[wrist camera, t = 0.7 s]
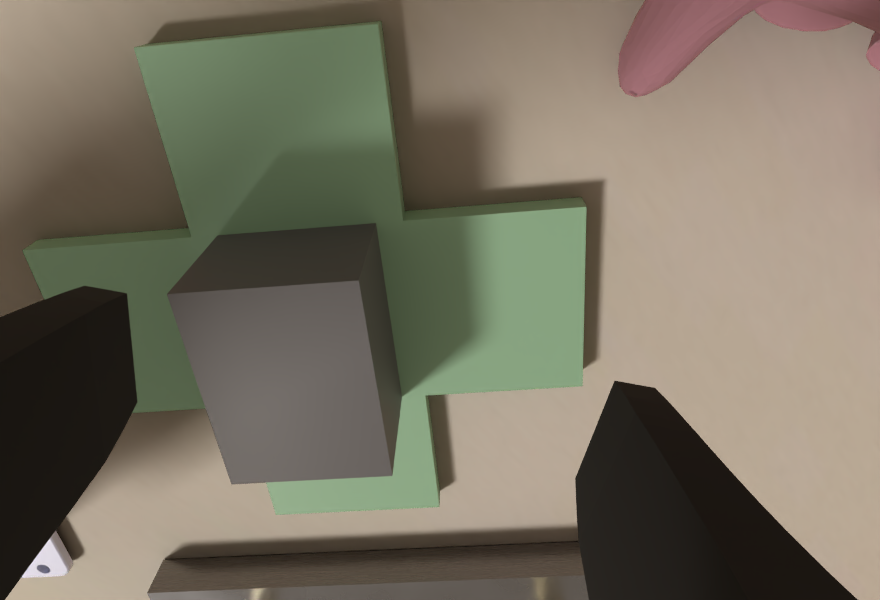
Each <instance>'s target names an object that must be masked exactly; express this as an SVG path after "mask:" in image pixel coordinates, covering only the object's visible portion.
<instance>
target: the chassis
mask: <svg viewBox="0 0 880 600" xmlns="http://www.w3.org/2000/svg"><path fill="white" fill-rule="evenodd" d="M147 594H148V596H149V598H150V600H589V598H588V592H587V586H586V581H585V575H584V570H583V564H582V558H581V552H580V546H579V542H561V543H538V544H515V545H492V546H470V547H447V548H424V549H402V550H379V551H356V552H333V553H311V554H288V555H265V556H243V557H220V558H197V559H174V560H163V562H162V564H161V566H160V568H159V570H158V572H157V574H156V576H155V578H154V580H153V582H152V584H151V586H150V589H149V591H148V593H147Z"/></svg>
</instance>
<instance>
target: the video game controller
mask: <svg viewBox="0 0 880 600" xmlns="http://www.w3.org/2000/svg"><path fill="white" fill-rule="evenodd" d="M753 10H755V12H756V13H757V14H758V15H760V16H761V17H762V18H763V19H765V20H766V21H768V22H771V23H773V24H776V25H778V26H781V27H784V28H789V29H794V30H800V31H827V30H831V29H836V28H839V27H842V26H845V25H847V24H850V23H851V22H855V23H858V24H860V25H862V26H865V27H867V28H869V29H871V30H874V31H875V33H874V35H873V36H872V39H871V42H870V45H869V48H868V51H867V54H866V57H867V59H868V61H869V63H870V64H871V65H872V66H873V67H875V68H876V69H878V70H879V71H880V0H645V1H644V3H643V5H642V6H641V8H640V10H639V11H638V13H637V15H636V17H635V19H634V21H633V24H632V26H631V28H630V30H629V32H628V34H627V36H626V39H625V41H624V43H623V45H622V48H621V51H620V54H619V66H618V75H619V82H620V87H621V88H622V89H623V91H624V92H625V93H626V94H628V95H631V96H634V97H638V96H643V95H647V94H649V93H651V92H653V91H655V90H657V89H659V88H660V87H662V86H664V85H666V84H668V83H669V82H671V81H672V80H673V79H674V78H675V77H676V76H677V75H678V74H679V73H680V72H681V71H682V70H683V69H684V68H685V67H687V66H688V65H689V64H690V63H691V62H692V61H693V60H694V59H695V58H696V57H697V56H698V55H699V54H700V53H701V52H702V51H703V50H704V49H705V48H706V47H707V46H708V45H709V44H711V43H712V42H713V41H714V40H715V39H717V38H718V37H719V36H720V35H721V34H723V33H724V32H725V31H726V30H727V29H729V28H730V27H731V26H732V25H733V24H735V23H736V22H737V21H738V20H739V19H741V18H742V17H743V16H744V15H746V14H748V13H749V12H751V11H753Z"/></svg>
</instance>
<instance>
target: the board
mask: <svg viewBox="0 0 880 600" xmlns="http://www.w3.org/2000/svg"><path fill="white" fill-rule="evenodd" d="M134 50H135V53H136V57H137V60H138V63H139V67H140V70H141V73H142V76H143V80H144V83H145V86H146V89H147V93H148V96H149V99H150V103H151V106H152V109H153V112H154V116H155V119H156V122H157V126H158V129H159V132H160V135H161V139H162V142H163V145H164V149H165V152H166V155H167V158H168V162H169V165H170V168H171V172H172V175H173V178H174V181H175V185H176V188H177V191H178V195H179V198H180V201H181V204H182V208H183V211H184V214H185V218H186V221H187V224H188V227H189V228H182V229H169V230H157V231H144V232H131V233H118V234H106V235H93V236H80V237H68V238H55V239H42V240H37V241H35V242H34V243H33V244H31V245H30V246H28V247H27V248H25V249H24V250H22V251H23V253H24V256H25V258H26V260H27V262H28V264H29V267H30V269H31V271H32V273H33V276H34V278H35V280H36V282H37V285H38V287H39V289H40V291H41V293H42V296H43V298H44V300H45V299H47V298H50V297H53V296H55V295H58V294H61V293H64V292H66V291H69V290H72V289H76V288H79V287H82V286H90V287H95V288H101V289H107V290H112V291H118V292H123V293H127V298H128V309H129V319H130V329H131V340H132V350H133V360H134V371H135V381H136V392H137V404H136V406H135V408H134V410H133V412H132V413H140V412H157V411H174V410H190V409H206V411H207V414H208V417H209V420H210V423H211V425H212V428H213V431H214V434H215V437H216V440H217V443H218V446H219V449H220V452H221V455H222V458H223V461H224V464H225V467H226V469H227V472H228V475H229V478H230V481H231V484H248V483H266V484H267V487H268V490H269V493H270V497H271V500H272V503H273V507H274V510H275V513H276V515H283V514H304V513H324V512H345V511H366V510H387V509H408V508H429V507H439V504H440V488H439V480H438V472H437V464H436V456H435V448H434V440H433V431H432V423H431V415H430V407H429V399H428V395H443V394H460V393H476V392H493V391H510V390H527V389H544V388H560V387H577V386H582V384H583V340H584V295H585V251H586V205H585V203H584V201H583V199H582V197H577V198H564V199H551V200H538V201H526V202H513V203H500V204H488V205H475V206H462V207H449V208H437V209H424V210H411V211H405V207H404V199H403V191H402V183H401V175H400V167H399V159H398V151H397V143H396V135H395V127H394V119H393V111H392V103H391V95H390V87H389V79H388V71H387V63H386V55H385V47H384V39H383V31H382V23H381V21H376V22H366V23H355V24H345V25H335V26H325V27H315V28H305V29H294V30H284V31H274V32H264V33H254V34H243V35H233V36H223V37H213V38H203V39H193V40H182V41H172V42H162V43H152V44H145V45H142V46H138V47H135V48H134Z"/></svg>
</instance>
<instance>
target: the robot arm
mask: <svg viewBox="0 0 880 600" xmlns="http://www.w3.org/2000/svg"><path fill="white" fill-rule="evenodd" d="M136 404H137V392H136V381H135V371H134V360H133V350H132V340H131V329H130V319H129V309H128V298H127V293H123V292H118V291H112V290H107V289H101V288H95V287H90V286H82V287H79V288H76V289H72V290H69V291H66V292H64V293H61V294H58V295H55V296H53V297H50V298H47V299H45V300H42V301H40V302H37V303H35V304H32V305H30V306H27V307H25V308H22V309H20V310H17V311H15V312H12V313H10V314H7V315H5V316H2V317H0V600H5V599H6V597H7V596H8V595H9V593H10V592H11V591H12V589H13V588H14V586H15V585H16V584H17V582H18V581H19V580H20V578H27V577H51V576H63V575H66V574H68V573H69V571H70V569H71V568H72V566H73V561H72V559H71V557H70V555H69V553H68V552H67V550H66V548H65V546H64V544H63V542H62V541H61V539H60V537H59V535H58V533H57V532H56V529H57V528H58V527H59V525H60V524H61V523H62V521H63V520H64V518H65V517H66V516H67V514H68V513H69V512H70V510H71V509H72V508H73V506H74V505H75V503H76V502H77V501H78V499H79V498H80V497H81V495H82V494H83V492H84V491H85V490H86V488H87V487H88V485H89V484H90V483H91V481H92V480H93V479H94V477H95V476H96V474H97V473H98V471H99V470H100V469H101V467H102V466H103V464H104V463H105V461H106V460H107V458H108V456H109V454H110V453H111V451H112V449H113V447H114V446H115V444H116V442H117V440H118V438H119V437H120V435H121V433H122V431H123V429H124V427H125V425H126V423H127V422H128V420H129V418H130V416H131V414H132V412H133V410H134V408H135V406H136ZM575 480H576V504H577V523H578V538H579V546H580V552H581V558H582V564H583V570H584V575H585V581H586V586H587V592H588V598H589V600H857V599H856V598H855V597H854V596H853V595H852V594H851V593H850V592H849V591H848V590H847V589H846V588H844V587H843V586H842V585H841V584H840V583H839V582H838V581H837V580H836V579H835V578H834V577H833V576H832V575H831V574H830V573H829V572H828V571H826V570H825V569H824V568H823V567H822V566H821V565H820V564H819V563H818V562H817V561H816V560H815V559H814V558H813V557H812V556H811V555H810V554H809V553H808V552H807V551H806V550H805V549H804V548H803V547H802V546H801V545H800V544H799V543H798V542H797V541H796V540H795V539H794V538H793V537H792V536H791V535H790V534H789V533H788V532H787V531H786V530H785V529H784V528H783V527H782V526H781V525H780V524H779V523H778V522H777V520H776V519H775V518H774V517H773V516H772V515H771V514H770V513H769V512H768V511H767V510H766V509H765V508H764V507H763V506H762V505H761V504H760V503H759V502H758V501H757V499H756V498H755V497H754V496H753V495H752V494H751V493H750V492H749V491H748V490H747V489H746V488H745V486H744V485H743V484H742V483H741V482H740V481H739V480H738V479H737V478H736V477H735V476H734V474H733V473H732V472H731V471H730V470H729V469H728V468H727V467H726V466H725V464H724V463H723V462H722V461H721V460H720V459H719V458H718V457H717V456H716V454H715V453H714V452H713V451H712V450H711V449H710V448H709V447H708V445H707V444H706V443H705V442H704V441H703V440H702V439H701V438H700V436H699V435H698V434H697V433H696V432H695V431H694V430H693V429H692V427H691V426H690V425H689V424H688V423H687V422H686V421H685V420H684V418H683V417H682V416H681V415H680V414H679V413H678V412H677V411H676V409H675V408H674V407H673V406H672V405H671V404H670V403H669V402H668V401H667V400H666V399H665V398H664V397H663V396H662V395H661V394H660V393H659V392H658V391H657V390H656V389H655V388H652V387H646V386H641V385H635V384H630V383H624V382H618V381H614V384H613V386H612V389H611V391H610V394H609V396H608V399H607V401H606V404H605V406H604V409H603V411H602V414H601V416H600V419H599V421H598V424H597V426H596V429H595V431H594V434H593V436H592V439H591V441H590V443H589V446H588V448H587V451H586V453H585V456H584V458H583V461H582V463H581V466H580V468H579V471H578V473H577V476H576V478H575Z"/></svg>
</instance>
